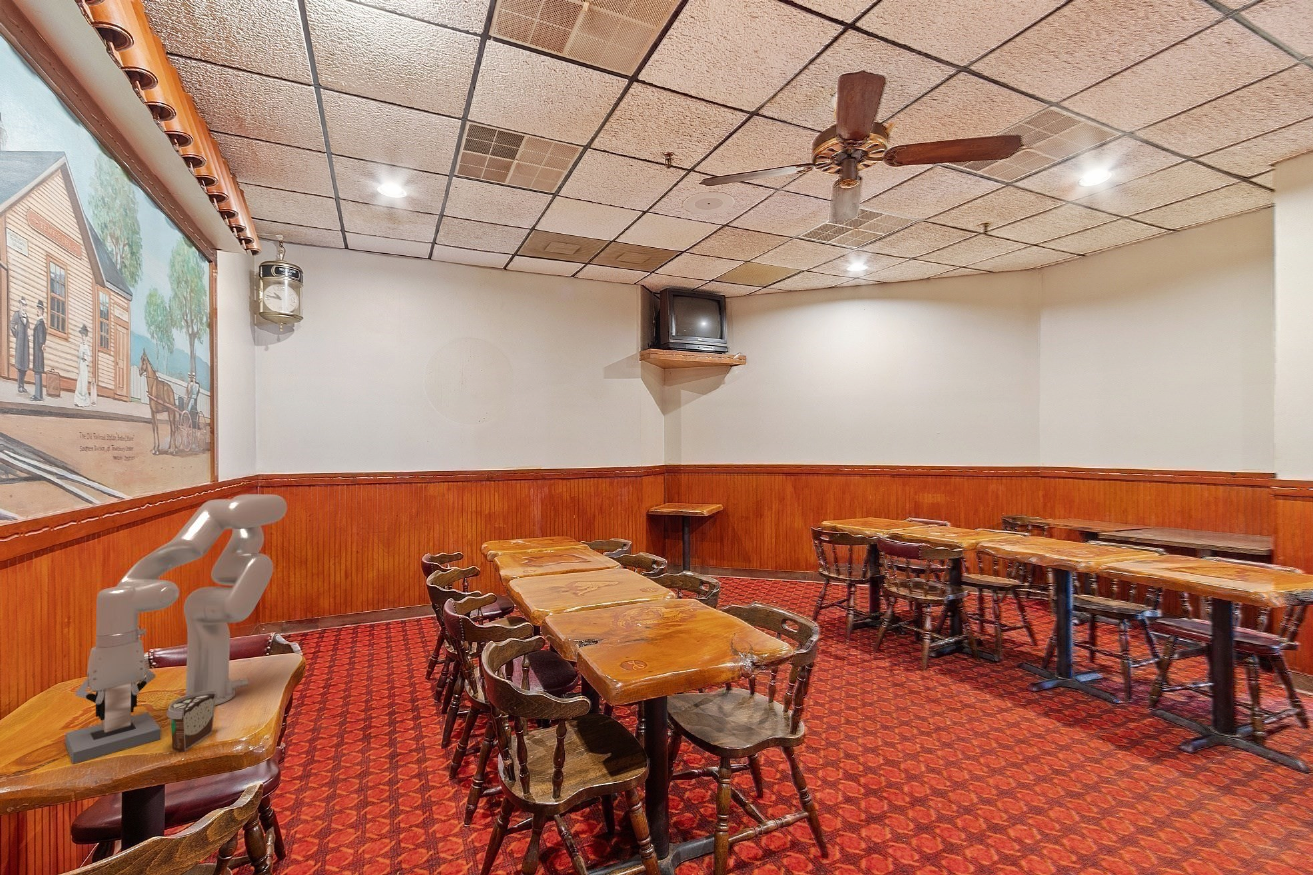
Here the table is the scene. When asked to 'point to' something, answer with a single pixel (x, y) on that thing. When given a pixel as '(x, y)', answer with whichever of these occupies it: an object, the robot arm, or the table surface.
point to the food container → (191, 719)
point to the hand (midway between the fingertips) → (116, 713)
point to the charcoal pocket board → (111, 738)
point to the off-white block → (117, 708)
